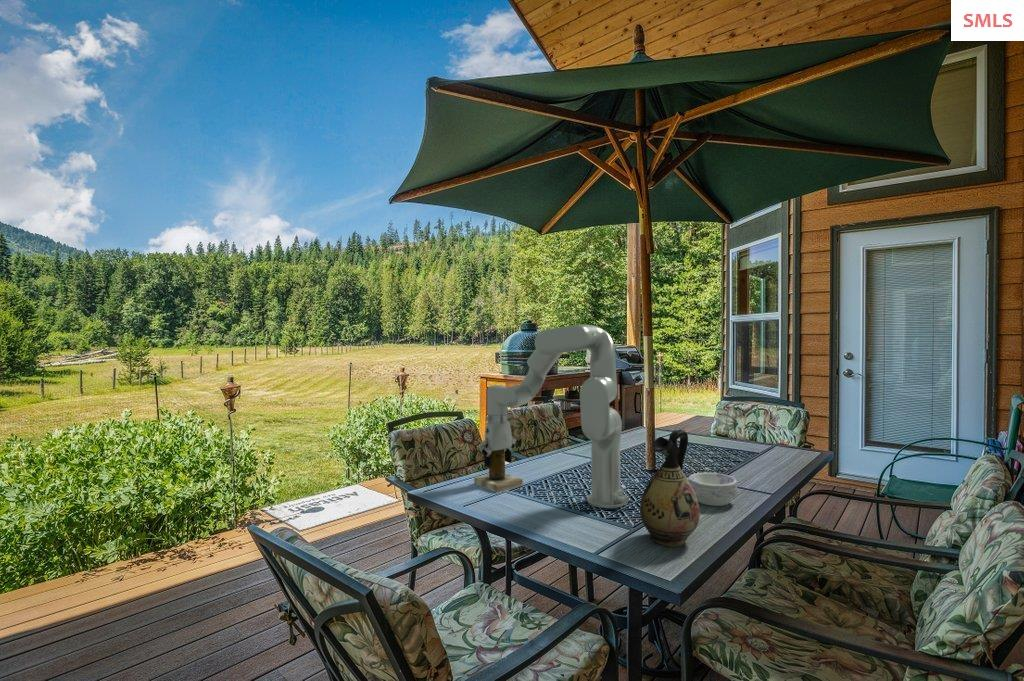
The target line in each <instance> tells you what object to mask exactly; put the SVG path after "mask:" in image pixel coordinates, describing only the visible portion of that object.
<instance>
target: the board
mask: <svg viewBox="0 0 1024 681" xmlns="http://www.w3.org/2000/svg"><path fill="white" fill-rule="evenodd" d="M487 476H489V473H487V474H483V475H479V476H474V478H473V482H474V483H473V484H474V485H476V484H477V485H476V486H478V485H479V486H478V487H481V486H482V488H484V487H485V488H484V489H486V488H487V490H489V489H490V490H489V491H491V490H493V491H492V492H494V491H495V493H496V492H498V493H501V492H500V491H502V492H505V491H504V490H506V491H508V489H509V490H512V489H511V488H513V489H516V488H515V487H517V488H520V487H519V486H521V487H523V486H524V484H523V483H524V482H523V481H524V480H523V478H520V477H518V476H517V477H516V476H513V475H511V474H508V473H505V476H507V477H510V478H513V479H510V480H507V481H501V482H496V481H493V480H489V479H487V478H484V477H487Z"/></svg>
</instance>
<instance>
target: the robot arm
mask: <svg viewBox="0 0 1024 681" xmlns="http://www.w3.org/2000/svg"><path fill="white" fill-rule="evenodd" d="M534 347H535V349H534V350H533V351H532V353H531V355H530V356H528V358H527V360H526V363H527V366H528V371H527V374H526V376H525V377H524V378H523V380H522V381H521V382H520V383H519V384H517V385H511V386H505V385H502V384H501V385H500V384H497V385H496V384H494V385H489V386H488V387H487V388H486V391H487V394H486V400H487V401H486V402H487V405H486V406H487V408H486V409H487V410H486V412H487V414H486V415H487V416H486V417H485V421H487V422H486V425H485V429H484V439H483V441H482V442H481V443H479V444H478V445H477V447H478V449H479V452H480V454H482V455H483V463H484V467H487V468H489V467H491V456H490V454H491V452H492V451H498V450H503V449H504V453H505V463H512V452H513V450H514V448H515V447H516V446H515V445H516V442H517V438H515V437H513V436H512V435H513V434H512V427H511V424H510V420H509V421H508V418H509V417H508V414H509V413H508V408H516V407H519V406H524V405H526V404H528V403H530V402H531V401H532V400H534V398H535V396H536V395H537V394H538V392H539V391H540V389H541V388H542V386H544V385H543V384H544V383H545V379H546V377H547V374H548V373H549V371H550V370H551V368H552V367H553V366H554V365H555V363H556V362H557V361H558V359H560V357H561V356H562V355H563V353H569V352H578V351H579V352H580V351H587V350H588V351H590V358H589V376H590V377H589V378H588V379H586V380H585V381H584V382H583V383H582V385H581V387H580V392H579V403H580V405H579V406H580V409H579V410H580V426H581V430H582V432H583V434H584V436H585V437H586V438H587V439H589V441H591V443H590V444H591V447H590V450H591V451H590V455H591V456H590V464H591V466H590V471H591V472H590V476H591V477H590V478H591V479H590V480H591V484H590V485H591V488H590V490H591V492H590V494H589V495H588V496H587V497H586V502H587V503H588V504H589V505H590V506H593V507H596V508H599V509H601V508H602V509H616V508H621V507H623V506H625V505H627V504H628V503H629V501H630V497H629V496H627V495H624V490H623V489H621V438H622V429H623V423H622V418H621V415H620V414H619V412H618V411H617V410H616V409H614V408H612V407H610V403H611V402H613V401H614V400H615V399H616V397H617V396H618V381H617V364H616V348H615V343H614V340H613V338H612V337H611V335H610V334H609V333H608V332H607V330H605V329H603V328H602V327H600V326H597V325H593V324H572V325H566V326H560V327H554V328H548V329H543V330H541V331H540V332H538V333H537V335H536V336H535V338H534Z"/></svg>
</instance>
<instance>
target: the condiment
mask: <svg viewBox="0 0 1024 681" xmlns="http://www.w3.org/2000/svg"><path fill="white" fill-rule="evenodd" d="M490 456H491V467H488V474H489V476H487V477H484V478H487V479H489V480H493V481H496V482H501V481H507V480H510V479H513V478H510V477H507V476H505V474H506V461H505V449H503V450H498V451H492V452H491V454H490Z"/></svg>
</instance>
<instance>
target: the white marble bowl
mask: <svg viewBox="0 0 1024 681" xmlns="http://www.w3.org/2000/svg"><path fill="white" fill-rule="evenodd" d="M687 479H688V481H689V483H690V485H691V486H692V488H693V490H694V492H695V495H696V497H697V500H698V503H700V504H702V505H705V506H710V507H711V506H712V507H724V506H727V505H729V504H730V503H731V501H732V499H735V498H737V496H738V494H739V493H738V480H737V479H736V478H735V477H733V476H730V475H727V474H723V473H717V472H697V473H693V474H689V476H688V478H687Z"/></svg>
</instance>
